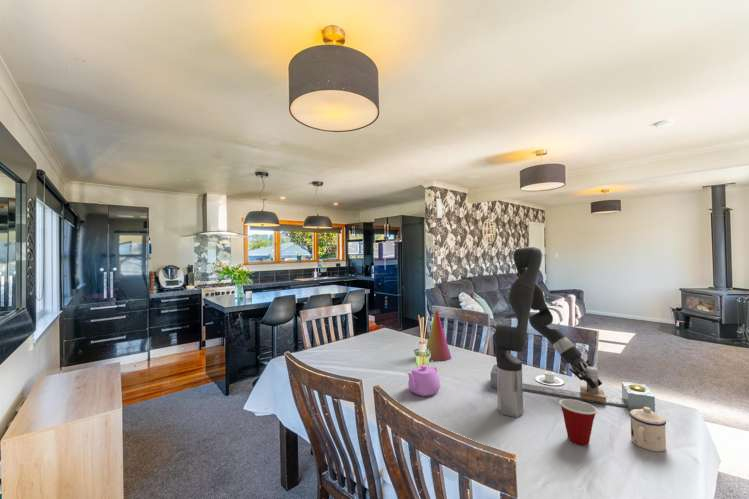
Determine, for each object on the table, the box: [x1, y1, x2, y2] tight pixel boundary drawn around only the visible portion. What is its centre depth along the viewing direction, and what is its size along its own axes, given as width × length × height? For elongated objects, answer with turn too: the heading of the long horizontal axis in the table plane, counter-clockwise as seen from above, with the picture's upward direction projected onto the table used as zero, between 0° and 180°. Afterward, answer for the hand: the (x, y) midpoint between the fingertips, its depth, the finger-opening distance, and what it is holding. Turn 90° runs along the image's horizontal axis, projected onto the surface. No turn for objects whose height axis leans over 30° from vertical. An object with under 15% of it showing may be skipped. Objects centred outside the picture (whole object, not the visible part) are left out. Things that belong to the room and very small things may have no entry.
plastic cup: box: [558, 398, 598, 447], centre depth 108 cm, size 11×11×12 cm
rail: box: [490, 364, 656, 413], centre depth 142 cm, size 12×59×8 cm, turn 62°
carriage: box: [580, 366, 607, 402], centre depth 137 cm, size 9×8×12 cm
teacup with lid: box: [629, 407, 667, 452], centre depth 105 cm, size 12×9×12 cm
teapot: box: [406, 364, 441, 397], centre depth 148 cm, size 20×13×12 cm, turn 131°
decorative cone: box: [426, 306, 452, 362], centre depth 196 cm, size 16×16×30 cm
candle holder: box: [534, 370, 564, 386], centre depth 157 cm, size 12×12×4 cm
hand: (597, 386), depth 136 cm, fingers closed on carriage, 4 cm apart
